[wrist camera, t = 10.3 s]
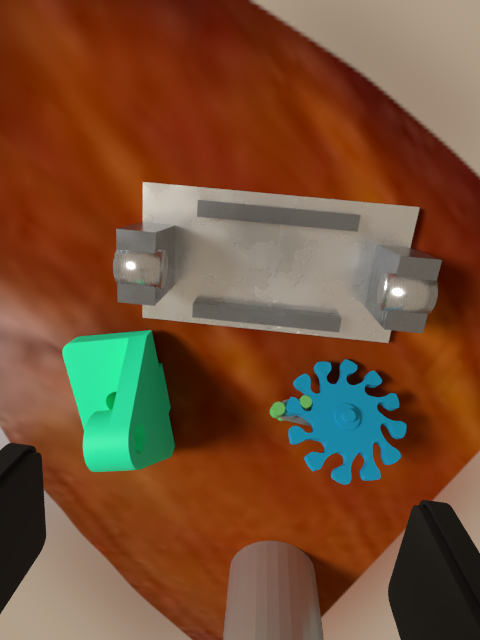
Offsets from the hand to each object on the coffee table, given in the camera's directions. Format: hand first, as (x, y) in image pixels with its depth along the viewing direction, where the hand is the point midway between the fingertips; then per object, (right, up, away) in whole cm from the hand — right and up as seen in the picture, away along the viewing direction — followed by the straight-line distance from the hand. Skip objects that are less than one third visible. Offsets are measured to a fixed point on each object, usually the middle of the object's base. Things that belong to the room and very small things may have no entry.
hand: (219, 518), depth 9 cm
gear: (+9, +1, +26) cm, 27 cm away
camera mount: (-10, -1, +27) cm, 29 cm away
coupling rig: (+3, +10, +22) cm, 24 cm away
